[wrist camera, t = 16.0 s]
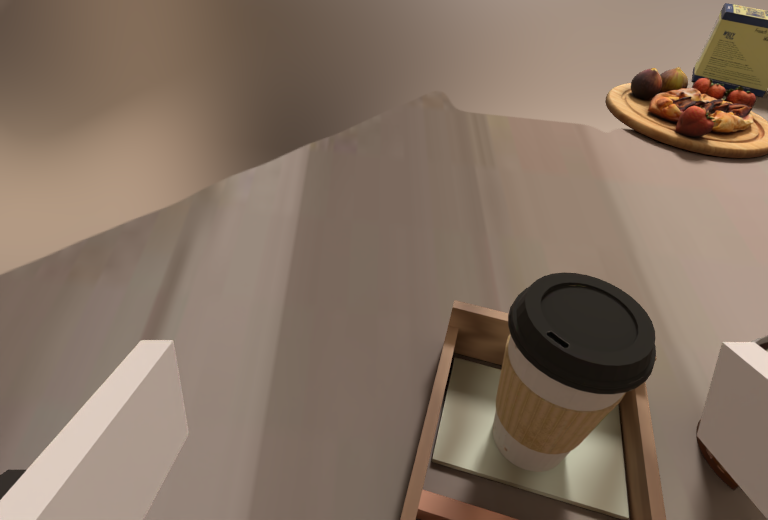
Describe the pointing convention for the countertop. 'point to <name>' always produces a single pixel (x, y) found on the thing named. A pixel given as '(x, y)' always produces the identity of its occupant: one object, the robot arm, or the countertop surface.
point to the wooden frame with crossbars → (482, 458)
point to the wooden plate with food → (691, 114)
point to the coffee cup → (567, 365)
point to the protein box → (737, 50)
